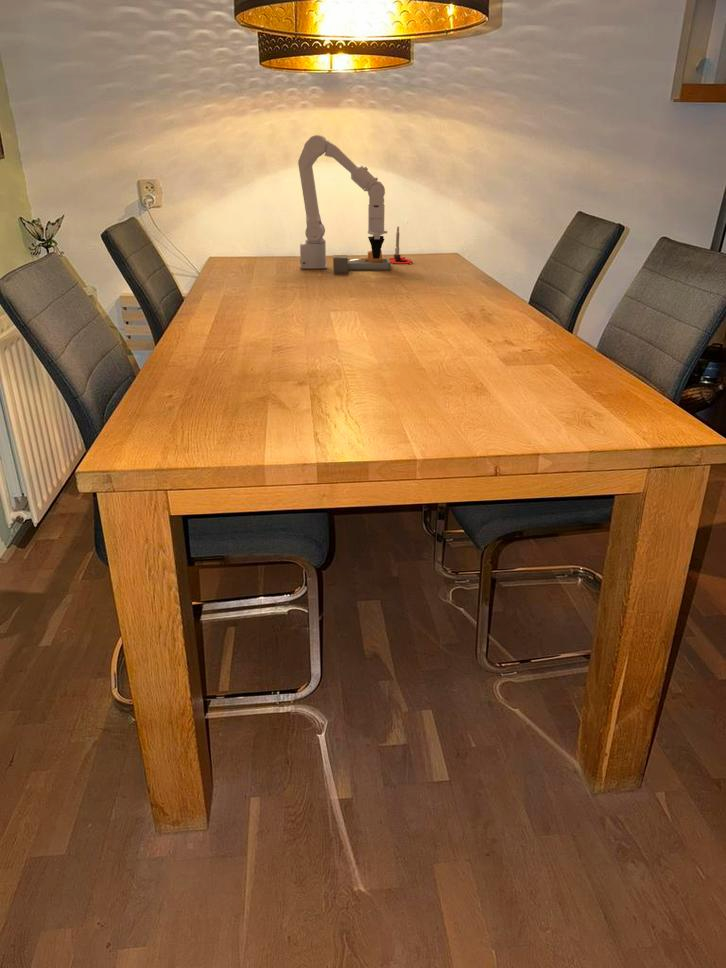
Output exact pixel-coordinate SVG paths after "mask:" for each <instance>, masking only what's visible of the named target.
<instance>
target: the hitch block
mask: <svg viewBox="0 0 726 968" xmlns="http://www.w3.org/2000/svg"><path fill="white" fill-rule="evenodd" d="M332 257H333V258H332V260H333V261H332V263H333V265H332V267H333V269H332V271H333V275H347V274H348V273H349V272H348V271H349V270H348V259H349V258H348V254H333V256H332Z"/></svg>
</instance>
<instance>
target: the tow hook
mask: <svg viewBox="0 0 726 968" xmlns="http://www.w3.org/2000/svg"><path fill="white" fill-rule="evenodd" d="M395 236H396V237H395V251H394V253H395V254H393V257H389V260H390V263H393V264H392V265H395V264H408V265H411V264H410V263H412V264H413V260H412V259H409V258H406V257H405V256H401V254H400V226H397V227H396V235H395ZM396 261H399V262H396ZM404 261H406V262H404Z"/></svg>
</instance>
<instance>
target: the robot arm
mask: <svg viewBox="0 0 726 968" xmlns="http://www.w3.org/2000/svg"><path fill="white" fill-rule="evenodd" d="M323 155H324V157H328V158H333V159H334V160H335V161H337V163H339V165H341V166H342V167H343V168H344V169H345V170H346V171H348V172H349V173H350V179H351V180H352V181H353V182H354V183H355V184H356V185H357V186H358V187H360V188H361V190H363V191H364V192H367V194H368V199H369V200H368V217H367V219H368V220H367V221H368V223H367V224H368V225H367V226H368V227H367V228H368V229H367V234H369V236H368V237H367V238H368V242H369V243H370V248H371V251H372V254H373V258H374V259H379V257H380V252H381V251H382V248H383V247H382V246H383V244H384V241H385V237H384V235H385V234H388V230H385V197H384V196H385V195H386V194H385V193H386V190H385V186H384V184H383V183H382V182H381V181H379V178H378V177H377V176H376V177H375V175H373V174H372V173H371V172H369V170H368V167H367V166H365V167H364V166H363V165H357V164H355V162H353V161H352V160H351V159H350V158H349V157H348V156H347V155H346V154H345V153H344V152H343V151H342V150H341V149H340V147H338V146H337V145H336V144H334V143H332V142H331V141H330V140H327V138H326V137H325V136H323V135H322V134H321V135H320V134H314V135H312V136H310V137H309V138H308V140H306V142H305V143H304V146H303V148H302V151H301V154H300V155H299V158H298V161H297V163H298V164H297V165H298V171H299V179H300V184H301V189H302V197H303V203H304V209H305V217H306V218H305V219H306V220H305V221H306V223H305V224H306V229H305V237H306V239H305V242H303V241H302V242H301V241H300V243H299V248H300V249H299V253H300V257H299V264H300V269H302V270H303V269H307V270H308V269H309V270H310V269H311V270H312V269H313V270H314V269H322V270H323V269H328V264H327V261H326V260H327V258H326V257H327V255H326V253H327V252H326V240H325V239H324V236H325V233H326V228H325V226H324V224H323V222H322V218H321V215H320V210H319V202H318V197H317V195H318V194H317V189H316V183H315V175H314V170H313V165H314V164H315V163H316V162H317V160H318V158H320V157H321V156H323Z"/></svg>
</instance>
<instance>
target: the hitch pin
mask: <svg viewBox="0 0 726 968" xmlns="http://www.w3.org/2000/svg"><path fill="white" fill-rule="evenodd" d="M382 251H383V250H381V252H380V257H379V259H374V258H373V254H372V250H367V257H361V258H352V259H353V260H348V263H383V260H382V258H383V254H382Z"/></svg>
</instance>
